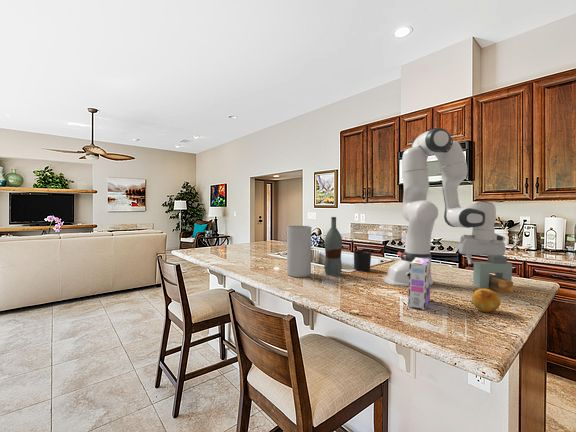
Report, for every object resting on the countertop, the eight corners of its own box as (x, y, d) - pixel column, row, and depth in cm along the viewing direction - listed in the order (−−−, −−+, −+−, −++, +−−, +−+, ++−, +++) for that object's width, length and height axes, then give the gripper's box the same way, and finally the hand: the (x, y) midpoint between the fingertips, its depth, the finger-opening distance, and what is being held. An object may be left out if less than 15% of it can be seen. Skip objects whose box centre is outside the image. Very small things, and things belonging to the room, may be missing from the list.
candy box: (425, 310, 105) (426, 264, 104) (407, 307, 108) (408, 262, 107) (430, 300, 116) (431, 258, 116) (414, 297, 120) (415, 256, 119)
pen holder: (369, 268, 172) (369, 250, 172) (372, 271, 163) (372, 253, 162) (352, 267, 173) (352, 250, 173) (354, 271, 164) (354, 253, 163)
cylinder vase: (288, 271, 162) (288, 225, 161) (311, 272, 161) (312, 225, 159) (285, 277, 150) (285, 227, 149) (310, 278, 148) (310, 227, 147)
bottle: (322, 272, 161) (323, 216, 160) (338, 271, 162) (339, 216, 161) (326, 276, 152) (327, 217, 151) (343, 276, 153) (345, 217, 152)
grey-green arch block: (479, 287, 134) (481, 256, 133) (472, 284, 139) (474, 254, 138) (511, 288, 134) (512, 257, 133) (503, 285, 139) (504, 255, 138)
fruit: (489, 317, 100) (490, 293, 99) (466, 308, 107) (467, 286, 107) (504, 313, 103) (505, 290, 103) (481, 305, 110) (482, 284, 110)
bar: (503, 293, 126) (503, 281, 126) (474, 280, 146) (474, 270, 146) (512, 293, 126) (513, 281, 126) (482, 281, 146) (482, 270, 146)
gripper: (464, 235, 139) (462, 264, 140) (508, 237, 139) (506, 267, 140) (457, 233, 145) (454, 261, 146) (499, 236, 145) (496, 264, 146)
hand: (480, 264), depth 143 cm, fingers open, 8 cm apart
